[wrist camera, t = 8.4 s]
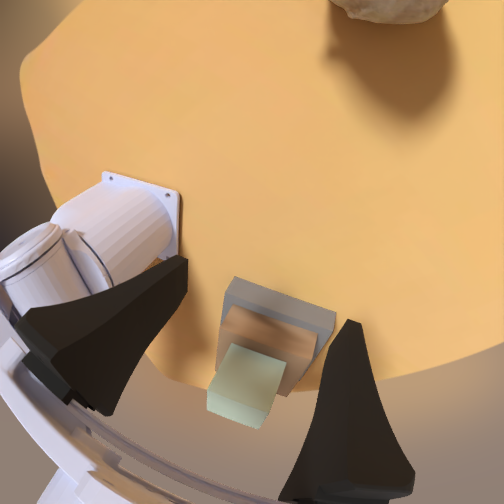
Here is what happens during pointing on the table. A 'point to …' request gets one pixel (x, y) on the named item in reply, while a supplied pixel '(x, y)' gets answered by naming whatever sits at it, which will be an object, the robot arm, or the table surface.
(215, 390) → the green cube
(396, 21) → the garlic bulb
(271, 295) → the tower base
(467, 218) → the table surface
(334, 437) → the robot arm
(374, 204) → the table surface
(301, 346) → the tower top
